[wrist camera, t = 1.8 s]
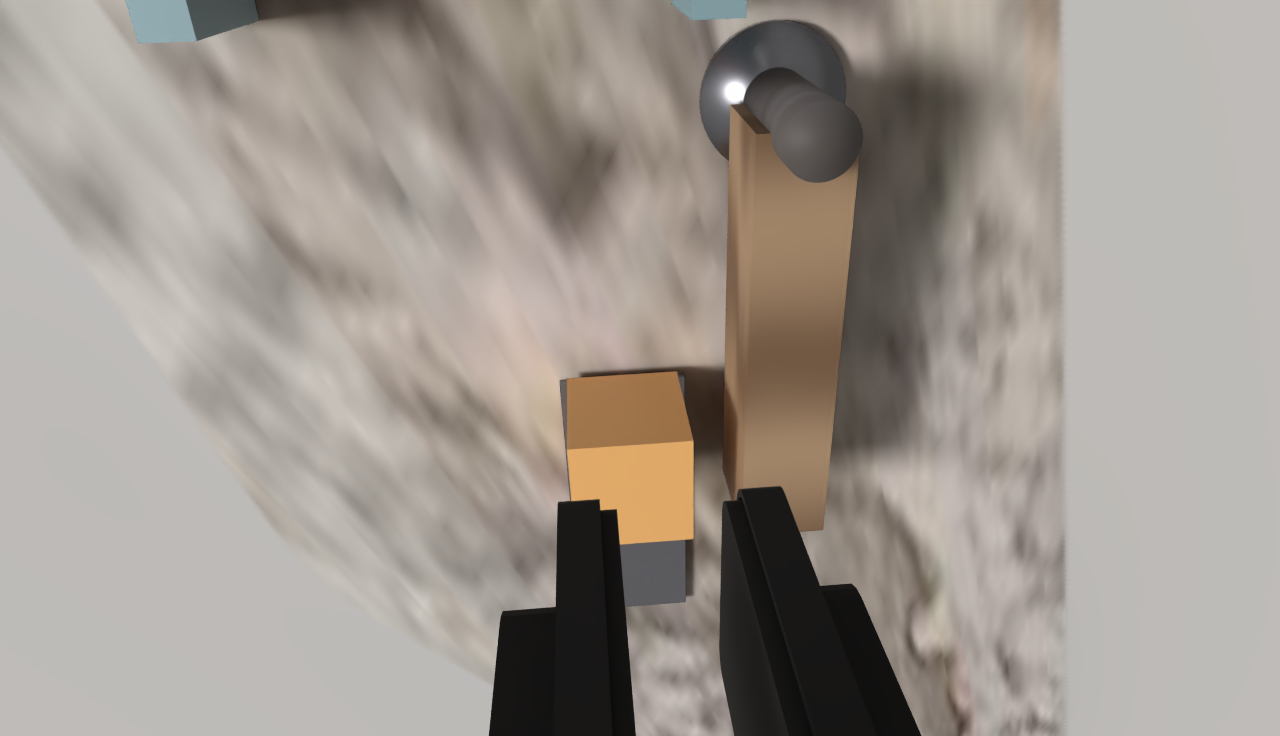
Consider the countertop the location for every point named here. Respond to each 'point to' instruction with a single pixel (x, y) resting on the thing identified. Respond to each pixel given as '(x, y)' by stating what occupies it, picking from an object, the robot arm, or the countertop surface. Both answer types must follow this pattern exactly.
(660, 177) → the countertop surface
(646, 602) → the grey flat plate
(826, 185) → the bar
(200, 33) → the keeper bay
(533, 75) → the countertop surface
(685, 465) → the orange cube
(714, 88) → the hinge base
